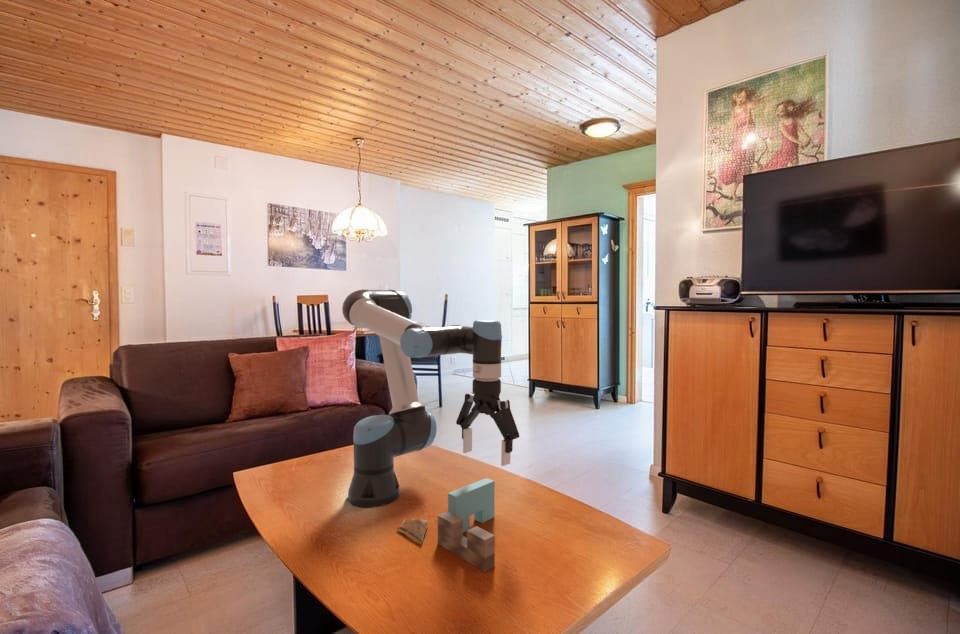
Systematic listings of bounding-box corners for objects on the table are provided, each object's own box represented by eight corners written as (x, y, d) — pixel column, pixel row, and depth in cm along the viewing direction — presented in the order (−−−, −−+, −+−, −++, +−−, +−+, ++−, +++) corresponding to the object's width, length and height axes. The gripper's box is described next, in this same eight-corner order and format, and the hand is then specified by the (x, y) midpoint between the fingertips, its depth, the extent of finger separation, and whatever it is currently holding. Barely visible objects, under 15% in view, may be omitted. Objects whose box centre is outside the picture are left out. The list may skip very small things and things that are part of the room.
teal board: (456, 536, 112) (456, 496, 112) (448, 531, 114) (448, 493, 114) (494, 517, 122) (494, 480, 122) (486, 513, 124) (486, 477, 124)
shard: (422, 547, 108) (422, 540, 108) (390, 546, 108) (390, 539, 108) (429, 525, 119) (429, 518, 119) (401, 524, 119) (400, 518, 119)
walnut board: (437, 543, 109) (437, 515, 109) (447, 539, 111) (447, 511, 111) (485, 571, 98) (485, 540, 97) (494, 566, 100) (494, 535, 99)
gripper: (444, 374, 124) (443, 450, 125) (515, 387, 108) (514, 474, 109) (463, 371, 130) (462, 443, 131) (533, 383, 113) (532, 466, 114)
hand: (485, 457), depth 120 cm, fingers open, 13 cm apart
